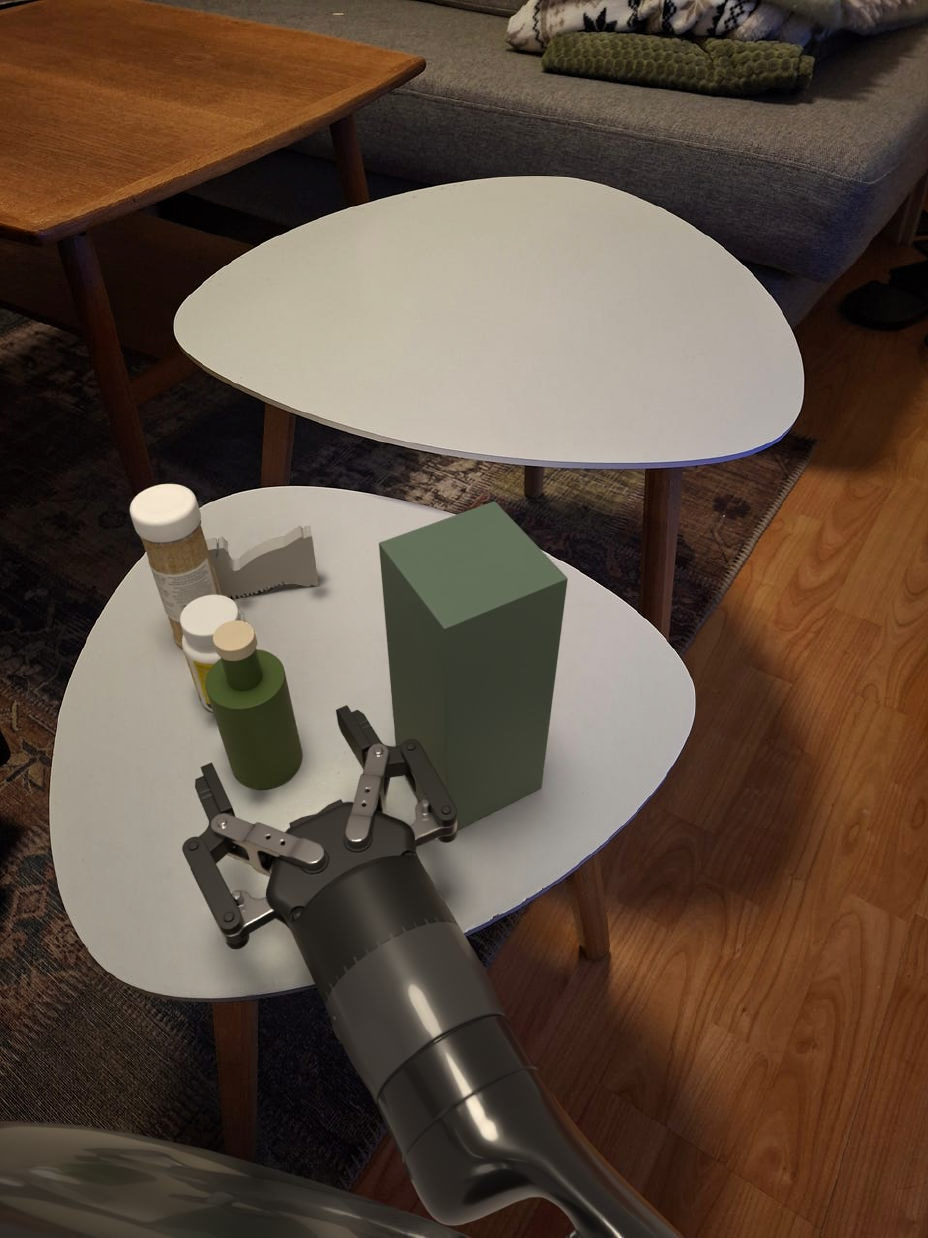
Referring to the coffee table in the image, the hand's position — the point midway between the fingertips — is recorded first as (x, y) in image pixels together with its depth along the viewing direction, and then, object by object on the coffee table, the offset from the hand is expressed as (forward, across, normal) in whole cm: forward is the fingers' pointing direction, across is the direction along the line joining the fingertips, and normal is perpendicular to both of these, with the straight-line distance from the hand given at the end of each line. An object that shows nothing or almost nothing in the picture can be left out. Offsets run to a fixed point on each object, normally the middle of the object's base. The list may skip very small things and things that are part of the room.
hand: (276, 743), depth 53 cm
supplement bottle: (+12, 0, +9) cm, 15 cm away
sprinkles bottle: (+20, 0, +9) cm, 21 cm away
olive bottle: (+5, 0, +8) cm, 10 cm away
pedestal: (-2, -12, +8) cm, 15 cm away
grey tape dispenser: (+22, -6, +9) cm, 24 cm away
